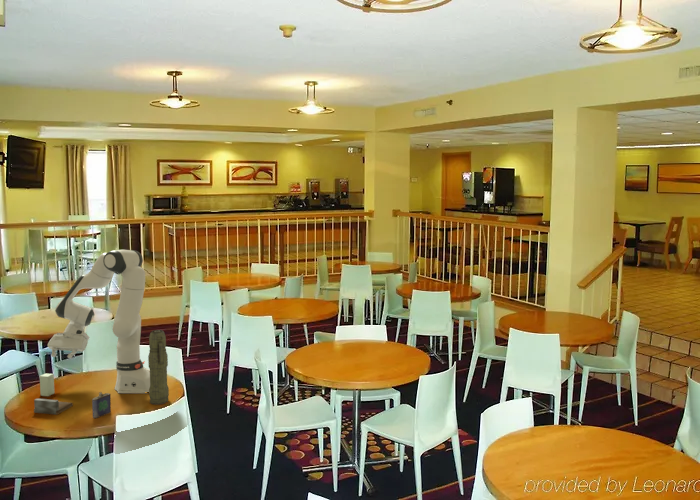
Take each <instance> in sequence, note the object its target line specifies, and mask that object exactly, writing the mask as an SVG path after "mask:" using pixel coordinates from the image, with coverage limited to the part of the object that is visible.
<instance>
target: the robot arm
mask: <svg viewBox="0 0 700 500" xmlns="http://www.w3.org/2000/svg"><path fill="white" fill-rule="evenodd" d="M142 266H143V255H142V254H141V253H140V252H139V251H137V250H133V249H115V250H114V249H113V250H110V251H108V252H103V253H101V254H100V255H99V256H98V257H97V259H96V260H95V261H94V264H93V265H92V267H91V269H90V270H89V272H87V273H85V274H82V275H80V276H79V277H78V278H77V279H76V280H75V282H74V283H73V285H72V286H71V287H70V289H69V290H68V291H67V293H65V296H64V297H63V298H62V299H60V301H59V302H58V303H57V305H56V307H55V310H54V311H55V314H56V315H57V317H58V318H62V319H66V320H69V323H68V324H67V325H66V327H65V329H64V330H63V332H57V333H54V334H53V336H52V337H51V339H50V340H49V341H48V343H47V347H48V348H49V349H50V350H51V354H50V356H51V358H56V356H57V353H56V352H57V351H68V352H70V353H68V354H67V356H66V357H67V358H68V359H73V356H75V355H76V354H77V352H84V351H86V348H87V346H88V343H89V340H90V336H89V335H88V334H87V332H85V328H86V327H87V326H89V325H90V324H91V322H92V320H93V319H94V318H95V312H94V309H93V308H91V307H89V306H88V305H85V304H81V303H79V302H76V301H74V300H73V299H74V298H75V296H76V295H77V294H78V292H79V291H81V290H83V289H94V290H96V289H97V290H98V289H104V288H105V287H107V286H108V285H109V284H110V282H111V280H112V279H113V277H114V274H116V275H122V283H121V289H120V296H119V300H118V304H117V305H118V306H117V308H116V312H115V316H114V321H113V324H112V332H113V334H114V336H116V337H117V345H116V362H115V365H116V367H115V368H116V380H115V381H116V382H115V386H114V390H115V391H116V392H117V394H146V393H145V392H149V388H150V370H149V369H147V368H145V367H144V364H145V363H146V361H145V360H144V361H142V360H141V351H140V349H141V348H140V344H141V334H142V333H141V331H142V315H141V314H140V311H141V309H142V305H143V300H144V293H145V288H146V287H145V286H146V271H145V269H144V268H143V267H142Z"/></svg>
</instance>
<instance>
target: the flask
mask: <svg viewBox="0 0 700 500" xmlns="http://www.w3.org/2000/svg"><path fill="white" fill-rule="evenodd" d="M91 400H92V401H91V403H92V405H91V406H92V419H98V418H101V417H103V416H106V415H108V414H111V413H112V412H111V411H112V409H111V406H112V405H111V404H112V403H111V393H109V392H107V393H106V392H105V393H102V391H100V392H98V396H95V397H93V398H92V399H91Z"/></svg>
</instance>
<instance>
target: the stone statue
mask: <svg viewBox="0 0 700 500" xmlns="http://www.w3.org/2000/svg"><path fill="white" fill-rule="evenodd" d="M166 338H167V337H166V334H165V331H164V330H162V329H154V330H152V331H151V332H150V334H149V335H148V340H149V341H148V343H149V344H148V346H149V350H148V351H149V353H148V357H147V358H148V360H147V361H148V368H149V371H150V388H149V393H148V395H149V396H148V397H149V404H151V405H164V404H167V403H168V402H169V401H168V400H169V394H170V393H169V390H170V389H169V388H170V387H169V386H168V369H167V368H168V365H169V363H168V362H169V361H168V358H169V357H168V353H167V349H166V348H167V339H166ZM166 402H167V403H166Z"/></svg>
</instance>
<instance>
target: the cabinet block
mask: <svg viewBox="0 0 700 500" xmlns="http://www.w3.org/2000/svg"><path fill="white" fill-rule="evenodd" d="M39 384H40V385H39V390H40V391H39V392H40V396H42V397H51V395H54V394H55V376H54V373H43V374H41V375H39Z"/></svg>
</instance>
